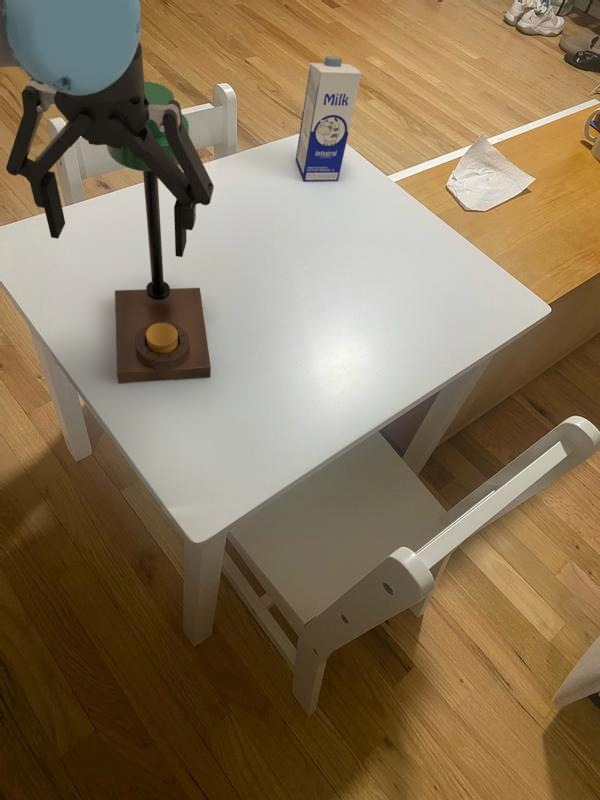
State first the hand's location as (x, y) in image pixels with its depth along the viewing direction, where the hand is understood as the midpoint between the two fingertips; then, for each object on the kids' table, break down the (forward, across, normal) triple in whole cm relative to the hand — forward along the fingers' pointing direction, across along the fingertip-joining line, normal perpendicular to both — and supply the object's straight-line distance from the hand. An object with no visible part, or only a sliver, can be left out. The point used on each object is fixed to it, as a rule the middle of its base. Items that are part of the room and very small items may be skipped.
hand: (120, 240), depth 67 cm
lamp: (+15, -2, -9) cm, 17 cm away
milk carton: (+19, -23, -49) cm, 58 cm away
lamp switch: (+15, -4, +1) cm, 16 cm away
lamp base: (+19, -3, -3) cm, 19 cm away
